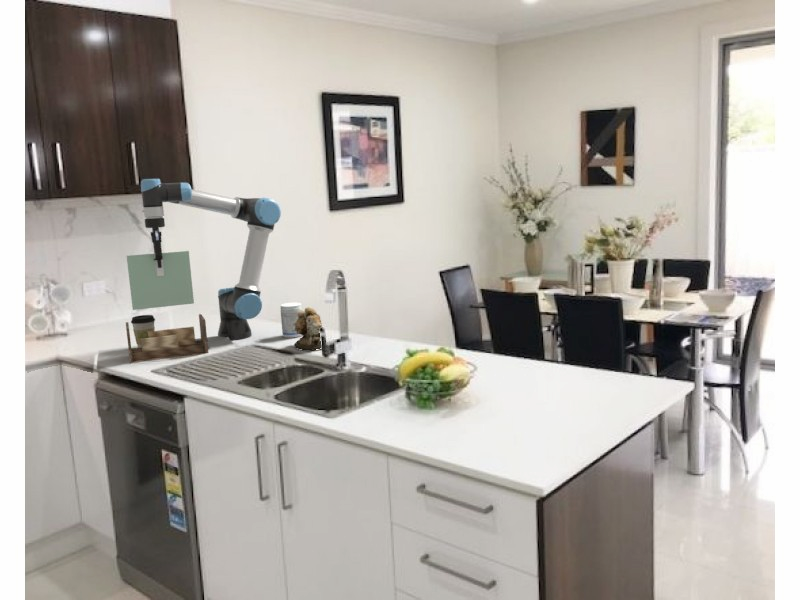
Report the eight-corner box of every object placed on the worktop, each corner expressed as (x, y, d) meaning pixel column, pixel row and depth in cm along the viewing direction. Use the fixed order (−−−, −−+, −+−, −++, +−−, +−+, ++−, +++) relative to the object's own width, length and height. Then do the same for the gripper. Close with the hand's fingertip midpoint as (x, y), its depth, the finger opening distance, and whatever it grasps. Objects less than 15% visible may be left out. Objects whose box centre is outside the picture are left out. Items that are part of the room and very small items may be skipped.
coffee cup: (150, 353, 291) (146, 319, 289) (129, 353, 293) (125, 319, 291) (162, 348, 301) (159, 314, 298) (142, 348, 303) (138, 314, 300)
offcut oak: (195, 349, 288) (193, 326, 287) (196, 350, 287) (193, 327, 286) (150, 355, 282) (147, 331, 280) (150, 356, 281) (148, 332, 279)
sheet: (193, 303, 288) (188, 250, 285) (193, 303, 287) (188, 251, 283) (132, 309, 279) (126, 255, 276) (132, 309, 278) (126, 256, 275)
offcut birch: (179, 353, 283) (177, 334, 282) (179, 354, 282) (177, 335, 281) (143, 358, 278) (140, 338, 277) (143, 358, 277) (141, 339, 275)
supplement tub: (290, 333, 320) (288, 302, 318) (307, 334, 316) (305, 302, 314) (278, 337, 312) (275, 305, 309) (295, 338, 308) (293, 306, 305)
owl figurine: (286, 346, 295) (283, 307, 292) (309, 341, 302) (307, 303, 299) (309, 352, 281) (307, 311, 278) (333, 347, 289) (330, 307, 286)
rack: (204, 349, 295) (201, 314, 292) (208, 356, 282) (205, 319, 279) (129, 359, 284) (125, 322, 281) (130, 366, 271) (126, 328, 268)
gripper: (143, 217, 282) (149, 274, 286) (145, 218, 269) (151, 278, 273) (162, 216, 285) (168, 272, 289) (165, 217, 272) (171, 276, 276)
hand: (160, 275), depth 281 cm, fingers closed on sheet
